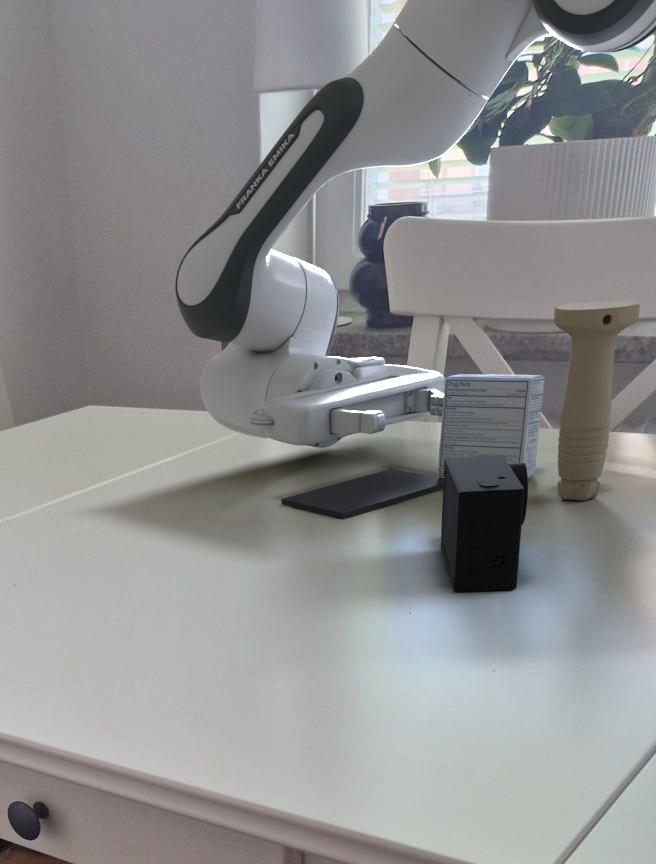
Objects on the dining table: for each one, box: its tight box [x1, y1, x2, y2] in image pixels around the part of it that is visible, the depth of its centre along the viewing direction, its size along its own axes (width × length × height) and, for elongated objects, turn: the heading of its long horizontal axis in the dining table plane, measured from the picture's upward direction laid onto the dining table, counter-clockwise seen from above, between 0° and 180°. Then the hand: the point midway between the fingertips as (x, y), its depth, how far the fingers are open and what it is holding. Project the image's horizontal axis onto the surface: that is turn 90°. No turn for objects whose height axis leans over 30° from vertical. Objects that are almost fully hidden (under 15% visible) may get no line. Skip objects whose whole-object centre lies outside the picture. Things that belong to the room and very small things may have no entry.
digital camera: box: [440, 455, 529, 593], centre depth 83 cm, size 10×5×7 cm, turn 174°
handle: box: [553, 299, 641, 502], centre depth 96 cm, size 5×6×15 cm
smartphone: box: [280, 467, 444, 520], centre depth 105 cm, size 14×8×1 cm, turn 127°
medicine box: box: [436, 373, 546, 479], centre depth 105 cm, size 8×4×9 cm, turn 59°
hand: (415, 414), depth 111 cm, fingers open, 8 cm apart
